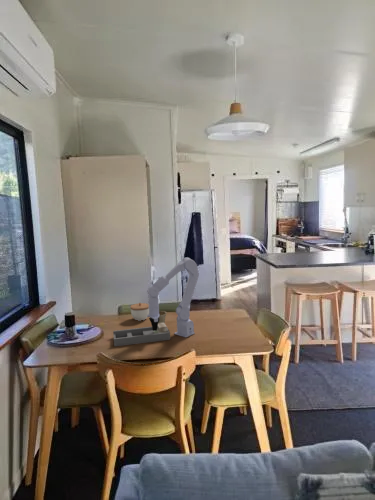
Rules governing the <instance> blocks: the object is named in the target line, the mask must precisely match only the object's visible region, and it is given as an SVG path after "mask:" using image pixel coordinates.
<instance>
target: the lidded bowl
mask: <svg viewBox="0 0 375 500" xmlns="http://www.w3.org/2000/svg"><path fill="white" fill-rule="evenodd" d="M130 314H131V317H132V318H133V319H134V321H136V320H138V321H137V322H142V321H141V320H143V321H146V320H145V319H147V318H148V317H147V315H149V304H148V303H145V302H143V303H142V302H138V303H134V304H131V305H130Z"/></svg>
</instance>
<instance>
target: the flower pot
mask: <svg viewBox="0 0 375 500" xmlns="http://www.w3.org/2000/svg"><path fill="white" fill-rule="evenodd" d="M159 314H160V316H159V319H160V320H159V323H165V324H166V315H167V311H165V310H159Z"/></svg>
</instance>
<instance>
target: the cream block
mask: <svg viewBox="0 0 375 500" xmlns="http://www.w3.org/2000/svg"><path fill="white" fill-rule="evenodd" d="M167 328H168V326H167V325H166V322H165V323H158V327H157V332H158V333H165V332H167Z"/></svg>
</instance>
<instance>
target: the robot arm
mask: <svg viewBox="0 0 375 500" xmlns="http://www.w3.org/2000/svg"><path fill="white" fill-rule="evenodd" d="M185 271H186V272H187V273H188V275H189V276H188V279H187V283H186V286H185V289H184V291H183V295H182V298H181V300H180V302H179V304H178V306H177V307H176V309H175V313H176V315H177V317H176V331H175V332H174V333H173V334H174V335H177V336H180V337H183V338H189V336H192V335H194V334H196V333H195V328H194V327H195V326H194V325H195V324H194V321H193V320H191V319H190V316H191V314H190V312H191V302H192V299H193V295H194V293H195V289H196V285H197V282H198V278H199V275H200V273H199V269H198V264H197V263H196V262H195V260H194V259H191V258H190V257H188V256H187V257H184V258H182V260H180V261H178V263H177V264H176V265H175V266H174V267H173V268H172V269H171V270H170V271H168V273H166V274H165V276H164V275H162V276H159V277H158V279H157V280H156V281H155V282H153V283H152V284H151V285H150V286H148V287H147V290H146V293H147V295H148V297H147V298H148V301H147V302H148V303H147V304H149V315H147V318H148V320H149V321H150V323H151V327H152V329H153V331H157V327H158V323H159V320H160V319H159V316H160V314H159V311H160V304H159V303H160V302H159V300H160V299H159V295H160V292H162V290H164V289H165V287H167V286H168V285H169V284H170V280H171V279H173V278H174V277H175V276H177V274H179V273H180V272H185Z"/></svg>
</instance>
